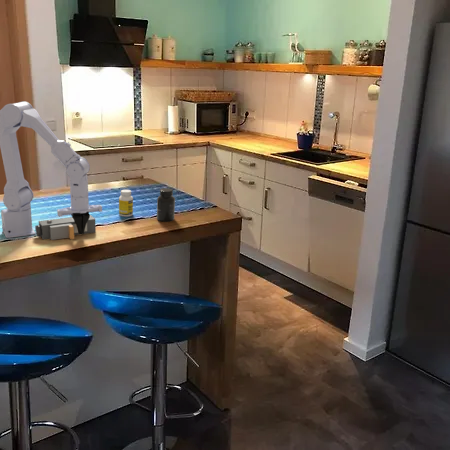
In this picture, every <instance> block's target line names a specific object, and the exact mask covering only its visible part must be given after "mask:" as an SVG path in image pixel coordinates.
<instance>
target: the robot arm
mask: <svg viewBox="0 0 450 450" xmlns="http://www.w3.org/2000/svg"><path fill="white" fill-rule="evenodd" d="M21 127H24V128H29V129H32V130H33V131H34V132H35V133H36V134H37V135H38V136H39V137H40V138H41V139H43V141H44V142H46V144H47V145H49V146H50V153H51V154H52V155H53V156H54V157H55V158H56V159H57V160H58V161H59V162H60V163H61V165H62V166H63V167H64V168H66V169H65V173H66V174H67V176H68V177H69V190H70V191H69V193H70V206H68V207H64V208H57V211H56V213H57V216H58V217H63V216H68V215H70V217H73V219H74V221H75V223H76V226H77V229H78V233H79V234H80V235H85V234H84V231H85V227H86V224H87V221H88V219H89V218H90V215H91V214H90V213H94V212H99V213H101V212H102V213H103V206H102V205H101V204H89V181H88V179H89V178H88V173H89V171H90V168H91V167H90V166H91V165H90V162H89V161H88V160H87V159H86V158H85V157H82V156H81V155H80V154H78V153H77V152H76V151H75V150H74V149H73V148H72V144H71V143H70V142H67V141H65V140H64V139H63V140H61V139H59V138H58V137H57V135H56V134H55V133H54V132H53V131H52V129H51V128H50V127H49V126H48V124H47V123H46V122H45V121H44V120H43V118H42V117H41V116H40V114H39V111H38V110H37V109H36V108H34V107H33V105H32V104H31V103H29V102H28V101H19V102H14V103H7V104H5V105H3V107H2V108H1V109H0V153H1V157H2V161H3V162H2V163H3V168H4V173H5V178H6V183H5V185H4V188H3V198H2V202H3V205H4V206H5V207H6V208H5V209H2V210H0V216H1V225H2V226H1V227H2V229H1V230H2V233H3V235H4V236H5V237H6V239H9V238H11V239H12V238H17V237H26V236H33V235H36V231H35V229H34V227H33V219H32V207H31V206H32V205H31V204H32V203H31V202H32V201H33V199H34V195H35V194H34V192H33V190H32V189H31V187H30V183H29V182H28V180H26V179H25V176H24V171H23V165H22V160H21V154H20V148H19V143H18V138H17V131H18V130H19V129H20V128H21Z"/></svg>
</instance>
